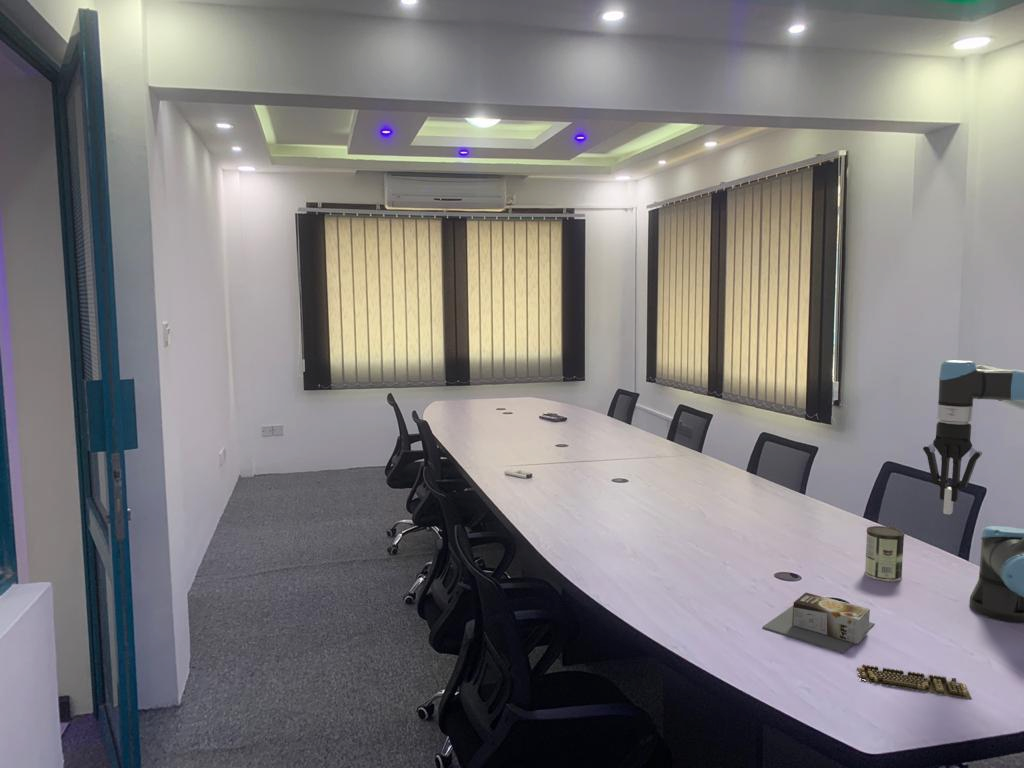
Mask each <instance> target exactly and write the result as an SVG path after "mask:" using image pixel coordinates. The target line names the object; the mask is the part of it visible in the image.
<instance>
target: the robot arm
mask: <svg viewBox="0 0 1024 768" xmlns="http://www.w3.org/2000/svg"><path fill="white" fill-rule="evenodd" d="M938 381H939V382H938V402H937V415H936V419H937V420H938V421H937V422H936V425H935V427H936V429H935V438H934V440H933V441H932V443H931V444H929V445H928V444H927V445H925V446H922V447H923V448H922V449H923V452H924V453H925V455H926V457H927V463H928V467H929V470H930V471H929V472H930V477H931V482H932V484H934V485H937V486H938V487H939V488H940V489H939V499H940V500H942V501H943V508H942V509H943V513H942V514H944V515H949V516H950V515H951V514H952V513H953V512H954V503H956V502H958V500H959V494H960V493H959V491H960V489H965V488H966V487H968V485H969V482H970V480H971V477H972V474H973V472H974V469H975V467H976V463H977V462H978V460H979V458H981V456H982V455H983V453H982V451H979V450H977V449H975V448H974V447H973V444H972V441H971V438H972V436H971V435H972V433H971V432H972V425H971V422H972V419H973V406H974V403H973V402H974V399H975V400H991V401H992V400H993V401H998V402H1001V403H1004V404H1007V405H1009V406H1012V407H1014V408H1017V409H1019V410H1022V411H1024V370H1021V369H1019V370H1018V369H1004V368H999V367H993V366H991V365H988V364H979V365H978V364H977V365H976V362H974V361H972V360H958V359H955V360H953V359H952V360H944V361H943V362H942V363H941V364H940V370H939V377H938ZM936 451H937V452H938V453H939V455H940V456H941V457H940V458H941V459H940V460H941V465H940V467H941V468H940V473H939V469H938V464H937V463H938V462H937V458H936V457H937V456H936V453H935V452H936ZM967 453H969V455H968V456H969V460H968V462H967V465H966V467H965V469H964V473H963V476H962V479H961V467H962V459H963V458H964V457H965V455H967ZM951 459H952V473H951V477H952V478H951V486H949V475H950V474H949V472H950V460H951ZM980 539H981V542H980V557H979V572H978V573H979V574H978V580H977V582H976V584H975V586H974V588H973V590H972V591H971V594H970V596H969V608H970V609H971V610H973V612H976V613H977V614H979V615H982V616H984V617H987V618H990V619H994V620H997V621H1001V622H1002V621H1003V622H1007V623H1016V624H1017V623H1018V624H1020V623H1021V624H1022V623H1024V528H1018V527H1012V526H1002V525H1001V526H999V525H998V526H997V525H991V526H986V527H984V528H983V529H982V533H981V536H980Z"/></svg>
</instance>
